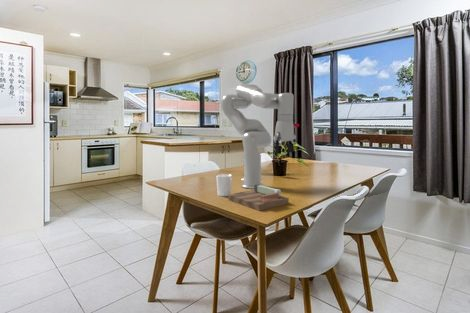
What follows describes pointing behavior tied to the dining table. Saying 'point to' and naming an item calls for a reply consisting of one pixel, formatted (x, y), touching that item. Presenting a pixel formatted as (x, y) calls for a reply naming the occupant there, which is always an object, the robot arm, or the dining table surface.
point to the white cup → (224, 184)
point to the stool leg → (266, 189)
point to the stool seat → (258, 199)
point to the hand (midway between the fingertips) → (284, 152)
